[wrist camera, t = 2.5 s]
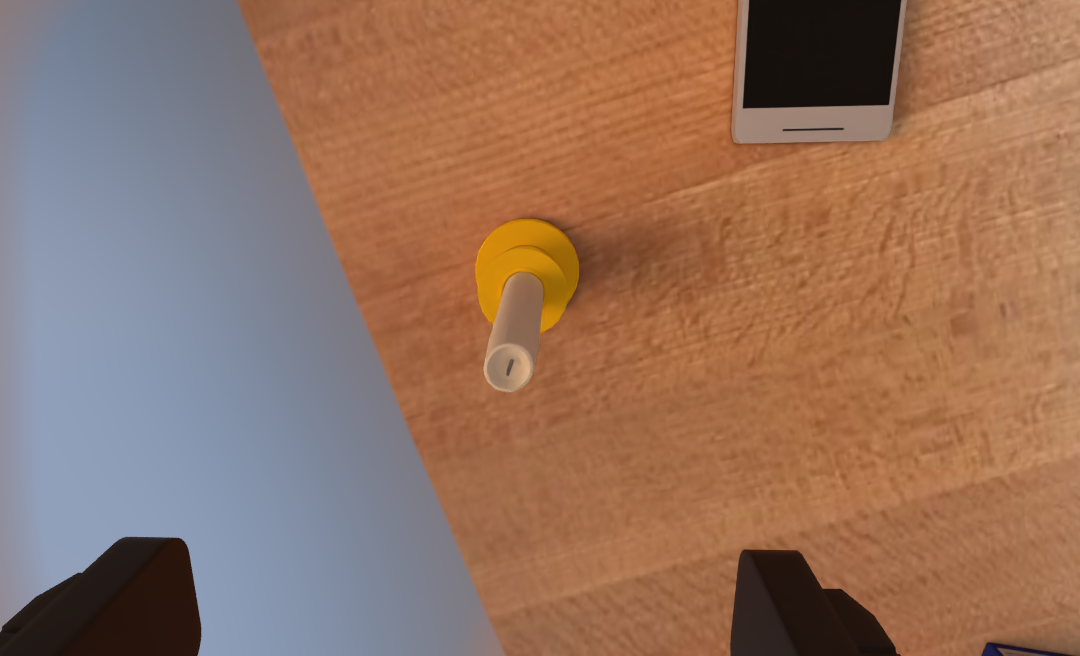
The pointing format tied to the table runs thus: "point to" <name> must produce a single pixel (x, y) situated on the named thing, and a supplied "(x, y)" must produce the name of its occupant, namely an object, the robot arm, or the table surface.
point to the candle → (522, 294)
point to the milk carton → (1013, 651)
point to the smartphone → (816, 70)
